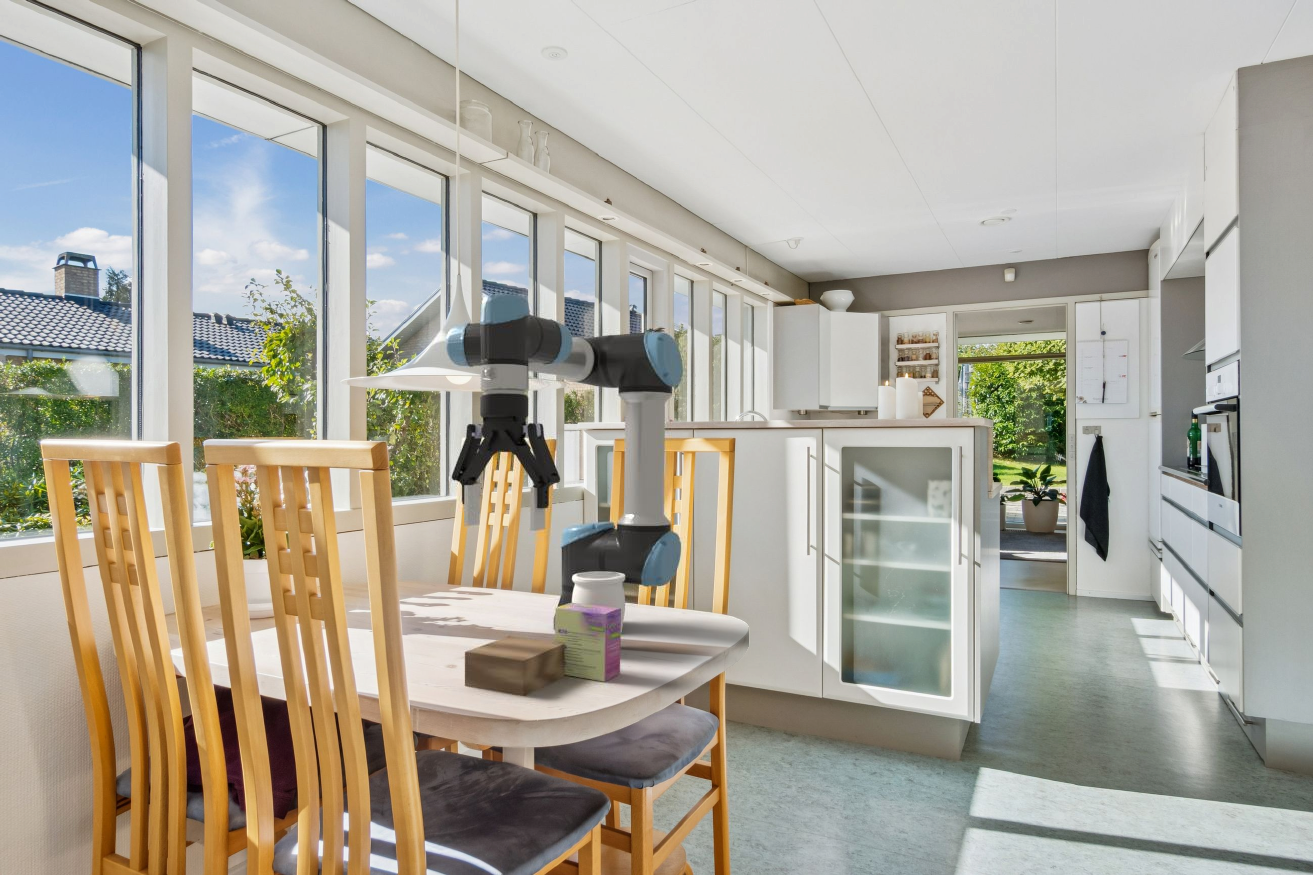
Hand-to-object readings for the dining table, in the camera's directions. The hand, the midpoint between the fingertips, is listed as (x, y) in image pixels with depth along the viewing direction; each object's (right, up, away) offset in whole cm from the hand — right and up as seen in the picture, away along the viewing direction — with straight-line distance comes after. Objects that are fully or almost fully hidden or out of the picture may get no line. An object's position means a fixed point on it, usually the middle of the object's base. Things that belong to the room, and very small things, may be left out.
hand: (503, 527), depth 123 cm
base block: (0, -28, +10) cm, 30 cm away
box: (+12, -28, +14) cm, 33 cm away
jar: (+13, -28, +30) cm, 43 cm away
